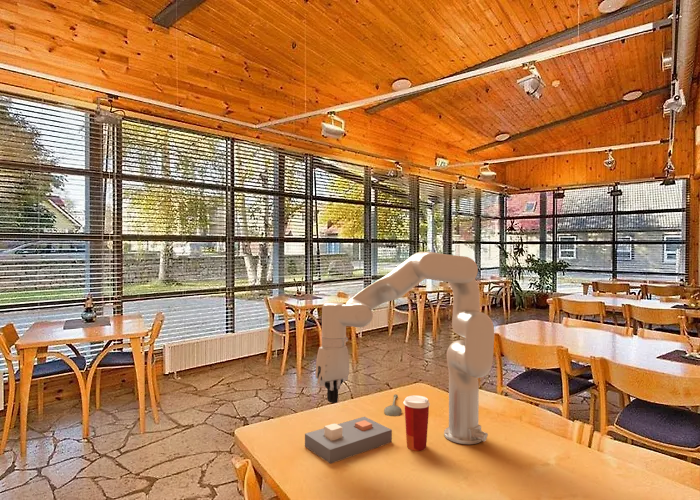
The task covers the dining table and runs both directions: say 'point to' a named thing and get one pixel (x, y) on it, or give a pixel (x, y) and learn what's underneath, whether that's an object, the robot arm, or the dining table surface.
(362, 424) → the peach square button
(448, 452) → the dining table surface
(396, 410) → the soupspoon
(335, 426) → the cream cube block
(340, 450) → the button panel
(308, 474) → the dining table surface
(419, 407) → the coffee cup
